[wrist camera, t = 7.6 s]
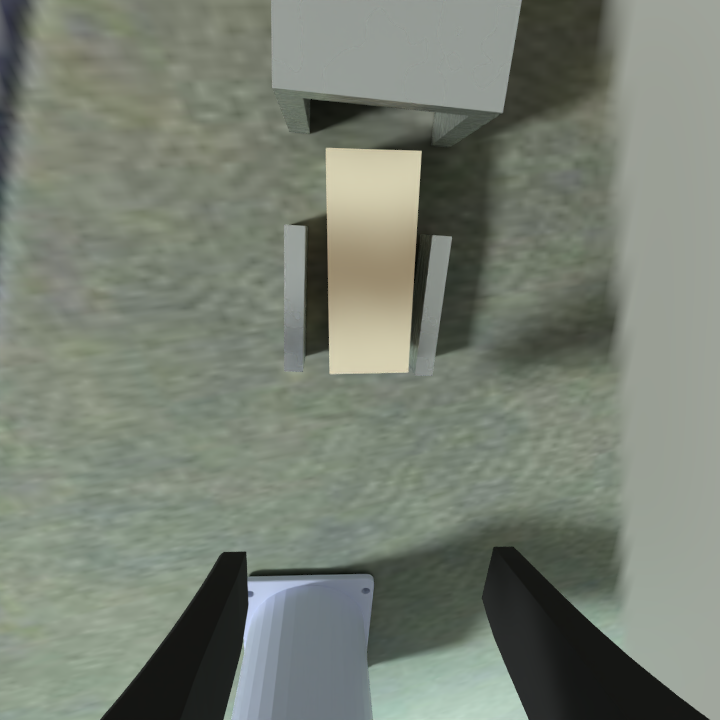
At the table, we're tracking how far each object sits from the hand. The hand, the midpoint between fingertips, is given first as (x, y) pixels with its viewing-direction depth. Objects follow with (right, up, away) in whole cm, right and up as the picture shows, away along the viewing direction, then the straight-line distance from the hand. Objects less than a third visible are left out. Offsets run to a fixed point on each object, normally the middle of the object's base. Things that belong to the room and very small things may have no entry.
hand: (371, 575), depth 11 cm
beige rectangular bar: (0, +11, +6) cm, 12 cm away
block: (0, +17, +4) cm, 17 cm away
